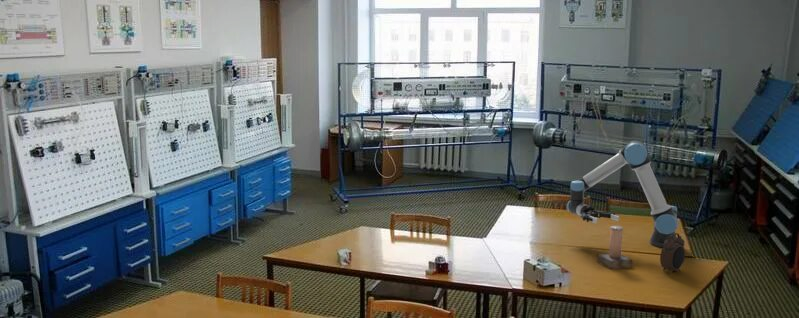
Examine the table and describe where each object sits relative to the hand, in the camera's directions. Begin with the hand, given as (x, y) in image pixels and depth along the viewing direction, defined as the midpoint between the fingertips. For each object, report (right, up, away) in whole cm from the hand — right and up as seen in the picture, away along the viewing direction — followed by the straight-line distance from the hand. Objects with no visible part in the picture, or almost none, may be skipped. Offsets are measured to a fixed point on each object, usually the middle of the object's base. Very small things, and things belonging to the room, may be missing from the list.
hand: (607, 220), depth 385 cm
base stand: (+1, -22, -10) cm, 24 cm away
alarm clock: (+27, -25, -20) cm, 42 cm away
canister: (+1, -18, -10) cm, 21 cm away
